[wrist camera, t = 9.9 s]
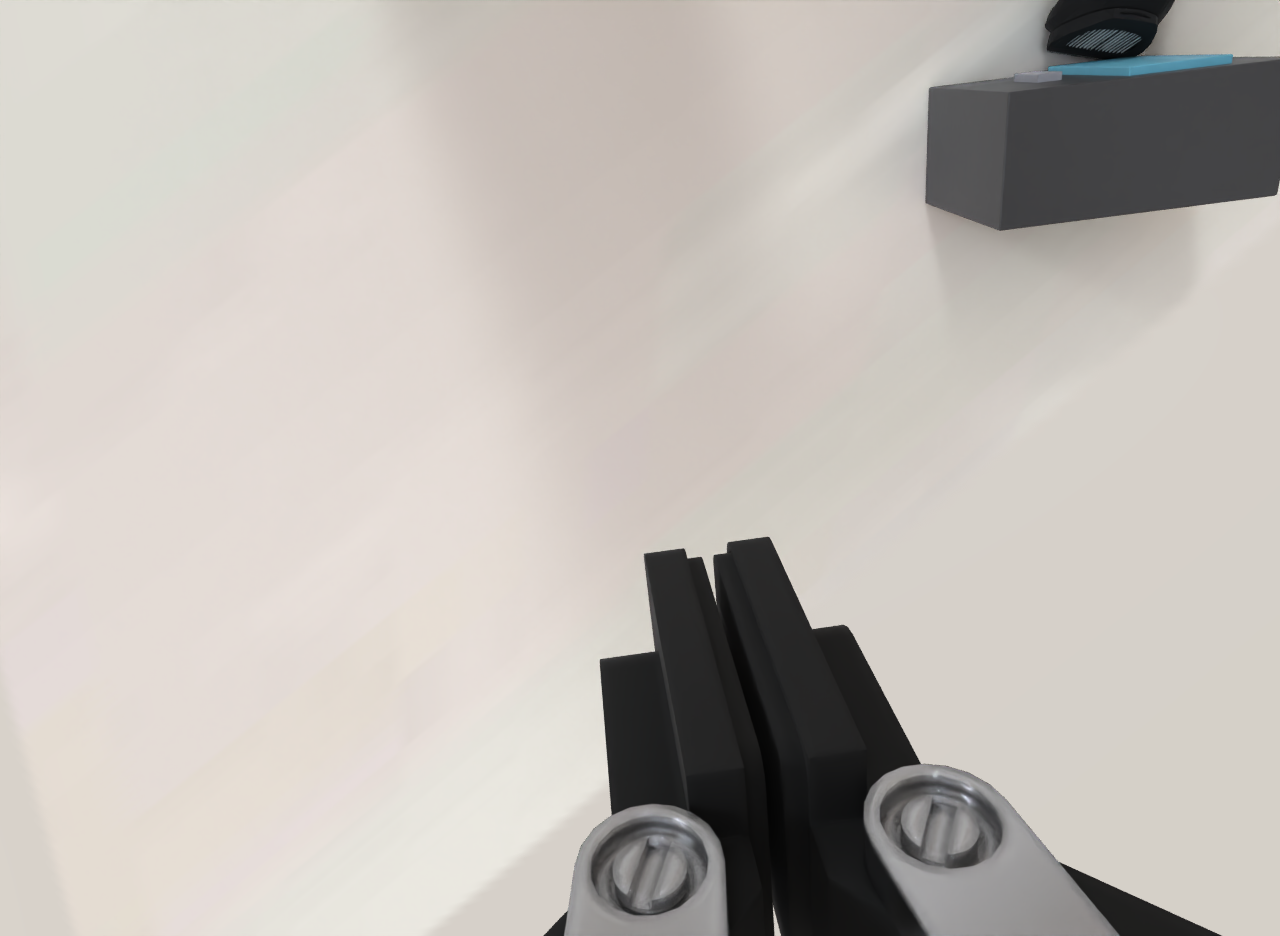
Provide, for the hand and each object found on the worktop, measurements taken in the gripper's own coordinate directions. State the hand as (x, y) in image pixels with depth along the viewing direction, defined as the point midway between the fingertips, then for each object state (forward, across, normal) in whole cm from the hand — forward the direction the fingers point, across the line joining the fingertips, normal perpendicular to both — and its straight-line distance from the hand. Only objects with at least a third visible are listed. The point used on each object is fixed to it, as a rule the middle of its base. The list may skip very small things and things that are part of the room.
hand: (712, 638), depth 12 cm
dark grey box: (+20, -12, -3) cm, 24 cm away
